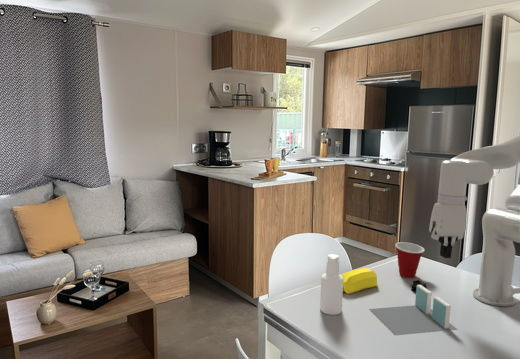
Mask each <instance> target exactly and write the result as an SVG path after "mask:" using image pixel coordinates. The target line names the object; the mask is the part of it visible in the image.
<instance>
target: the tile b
mask: <svg viewBox="0 0 520 359" xmlns="http://www.w3.org/2000/svg"><path fill="white" fill-rule="evenodd" d="M451 307H452V305H451V304H449V303H448V302H447V301H445V300H444V299H442V298H441V297H439V296H433V304H432V310H433V312H432V319H433V320H435V321H436V322H437V323H438V324H440V325H441V326H442V327H444V328H449V323H450V316H451Z"/></svg>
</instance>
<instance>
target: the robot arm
mask: <svg viewBox="0 0 520 359" xmlns="http://www.w3.org/2000/svg"><path fill="white" fill-rule="evenodd" d="M519 164H520V133H519V134H518V135H517V134H516V135H515V136H513V137H511V138H509V139H507V140H505V141H503V142H499V143H497V144H494V145H488V146H484V147H480V148H476V149H471V150H468V151H466V152H462V153H460V154H458V155H456V156H454V157H452V158H451V159H449V160H448V159H447V160H442V162H441V163H440V172H439V173H440V174H439V185H438V192H437V193H438V194H437V201H436V202H435V203H434V205H433V208H432V210H431V215H430V222H429V227H428V228H429V229H428V231H429V233H431V236H430V238H431V239H432V240H435V241H438V243H439V245H440V247H439V248H440V249H439V255H440V256H441V258H442V257H443V258H444V259H451V258H452V252H453V247H454V246H455V243H456V242H458V241H459V240H462V239H463V238H464V235H465V234H466V229H467V208H466V205H465V201H467V200H468V197H467V196H466V188H467V185H468V184H470V185H477V186H478V185H479V186H482V185H485V184H488V183H489V182H490V181H491V180H493V177H494V173H495V171H494V170H503V169H504V170H505V169H511V168H513V167H515V166H518V165H519ZM504 205H505V208H502V207H492V208H490V209H488V210H485V212H484V214H483V215H482V217H481V218H482V219H481V225H482V226H481V227H482V228H481V229H482V236H483V238H482V239H483V240H482V243H483V244H482V250H481V251H482V254H481V262H480V269H479V271H480V272H479V273H480V274H479V281H478V282H479V283H478V288H475V289H473V291H472V292H473V293H472V294H473V295H472V296H473V297H474V298H475V299H477V300H478V301H480V302H482V303H484V304H487V305H490V306H491V305H492V306H498V307H511V306H513V305H515V304H516V298H515V297H514V295H516V294H520V287H514V286H512V285H513V284H512V283H513V274H514V265H515V258H516V248H515V243H517V244H518V243H519V244H520V184H519V185H517V187H516V188H515V189H513V190H512V192H510V193H509V195H508V196H507V198H506V200H505V202H504ZM514 242H515V243H514Z"/></svg>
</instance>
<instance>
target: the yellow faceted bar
mask: <svg viewBox="0 0 520 359" xmlns="http://www.w3.org/2000/svg"><path fill="white" fill-rule="evenodd" d="M340 275H341V276H342V277H343V293H344V292H345V293H346V295H347V294H348V295H349V294H353V293H357V292H359V291H362V290H367V289H371V288H374V287H375V288H376V287H377V286H378V277H377V274H376V272H375V271H374V270H371V269H369V268H367V267H364V268H363V267H361V268H357V269H356V268H355V269H353V270H350V271H347V272H344V273H341V274H340Z"/></svg>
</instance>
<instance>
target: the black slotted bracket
mask: <svg viewBox="0 0 520 359" xmlns="http://www.w3.org/2000/svg"><path fill="white" fill-rule="evenodd" d="M417 285H422V286H423V287H425V288H426V289H427V290H428V287H427V286H428V285H427V282H424V281H421V280H420V279H417V280H413V281H412V283H411V289H410V290H411V292H413V293H415V294H416V287H417Z"/></svg>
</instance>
